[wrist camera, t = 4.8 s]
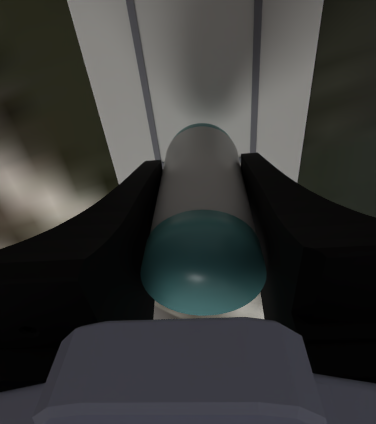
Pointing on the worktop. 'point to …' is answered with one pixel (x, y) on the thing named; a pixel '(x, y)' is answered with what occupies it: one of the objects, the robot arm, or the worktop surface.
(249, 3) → the picture card
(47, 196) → the worktop surface
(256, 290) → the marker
